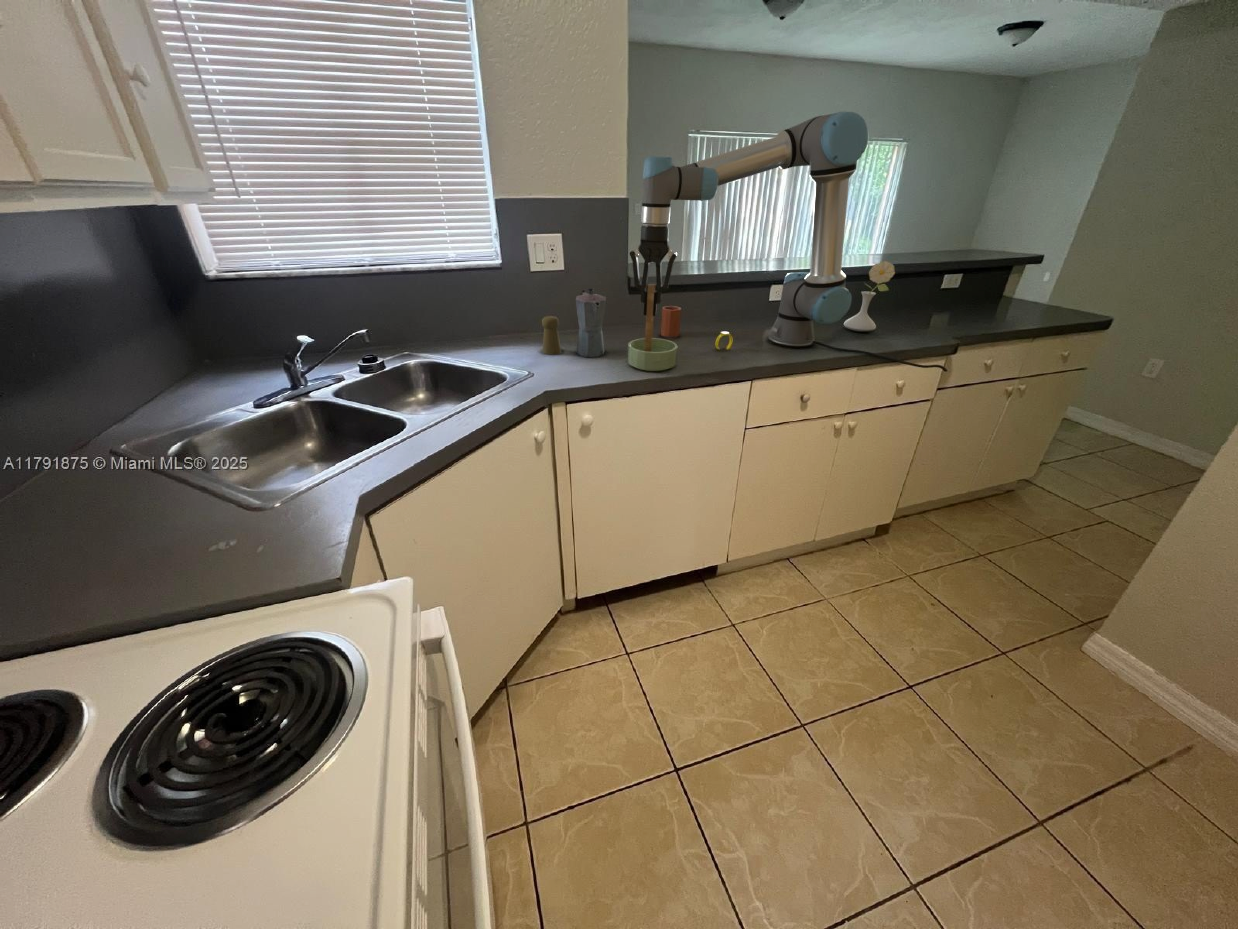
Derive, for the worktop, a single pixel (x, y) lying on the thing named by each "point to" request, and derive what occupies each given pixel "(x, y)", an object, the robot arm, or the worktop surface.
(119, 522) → the worktop surface
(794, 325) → the robot arm
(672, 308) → the utensil pot
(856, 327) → the flower in vase
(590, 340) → the moka pot
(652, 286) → the stirring stick
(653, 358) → the bowl
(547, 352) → the olive pepper grinder
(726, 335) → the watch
